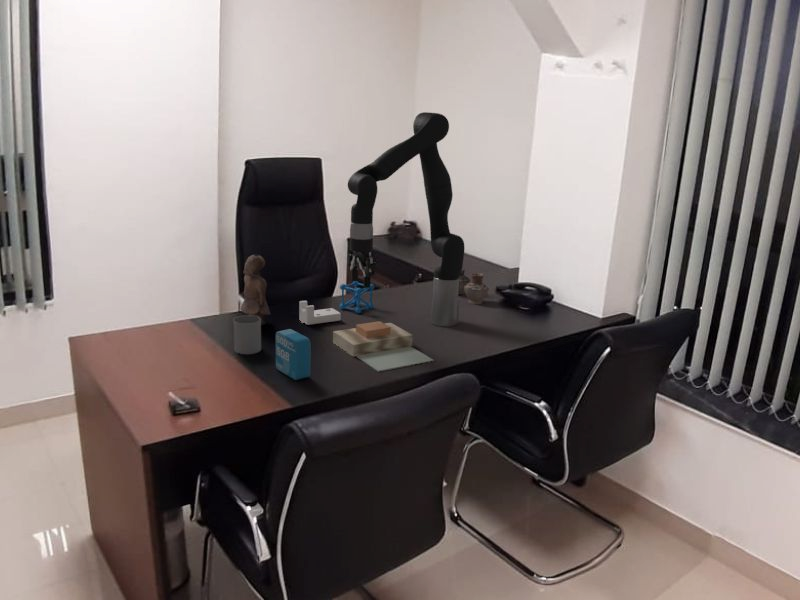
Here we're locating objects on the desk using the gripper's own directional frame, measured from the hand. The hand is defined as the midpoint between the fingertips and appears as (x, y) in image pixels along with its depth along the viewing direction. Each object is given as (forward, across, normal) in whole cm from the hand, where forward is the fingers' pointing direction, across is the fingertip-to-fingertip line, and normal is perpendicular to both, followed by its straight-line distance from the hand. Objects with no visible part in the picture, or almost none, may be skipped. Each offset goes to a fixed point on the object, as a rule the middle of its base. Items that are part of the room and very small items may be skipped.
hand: (360, 284), depth 227 cm
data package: (+18, -20, +33) cm, 42 cm away
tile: (+13, -8, 0) cm, 16 cm away
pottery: (+20, +24, -63) cm, 71 cm away
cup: (+18, +4, +38) cm, 42 cm away
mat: (+18, -23, 0) cm, 29 cm away
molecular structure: (+19, +28, -14) cm, 37 cm away
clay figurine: (+18, +26, +27) cm, 42 cm away
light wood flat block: (+18, -8, 0) cm, 20 cm away
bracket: (+19, +20, +5) cm, 28 cm away
